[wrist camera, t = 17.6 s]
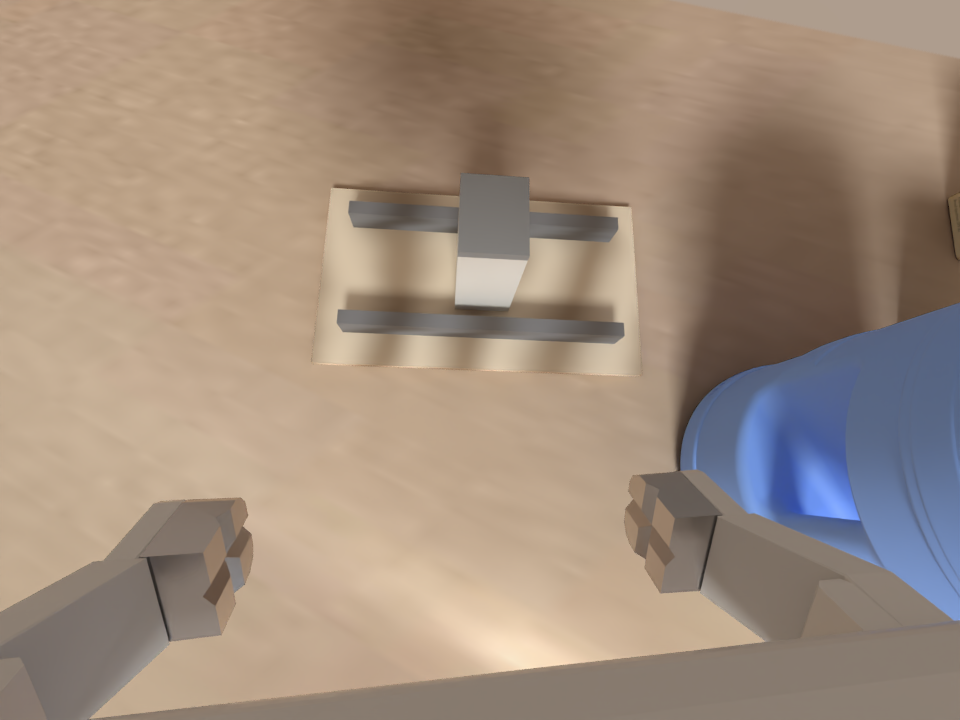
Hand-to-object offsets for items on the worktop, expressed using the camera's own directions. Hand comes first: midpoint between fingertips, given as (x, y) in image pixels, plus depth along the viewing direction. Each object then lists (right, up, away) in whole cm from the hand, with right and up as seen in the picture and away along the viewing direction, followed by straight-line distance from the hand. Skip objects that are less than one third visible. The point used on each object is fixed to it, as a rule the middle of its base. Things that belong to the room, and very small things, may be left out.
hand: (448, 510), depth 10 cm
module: (+1, +9, +25) cm, 26 cm away
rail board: (+1, +9, +25) cm, 27 cm away
